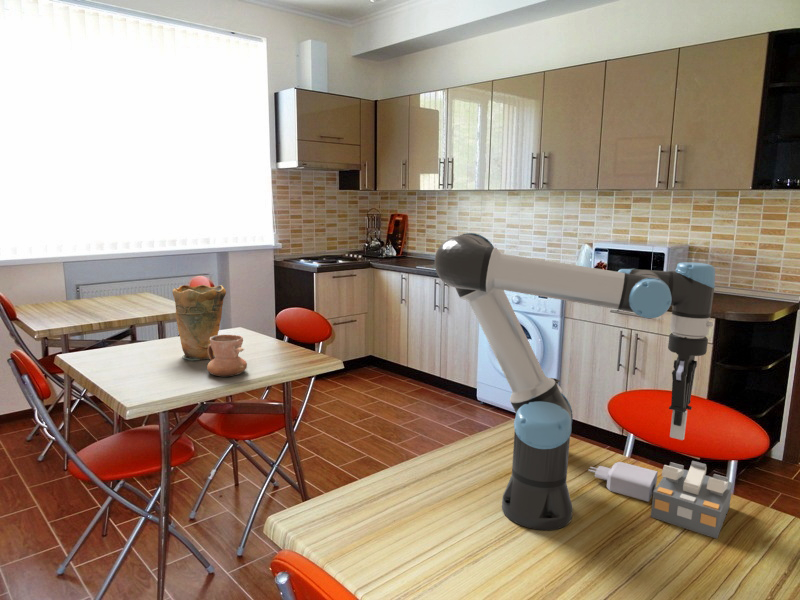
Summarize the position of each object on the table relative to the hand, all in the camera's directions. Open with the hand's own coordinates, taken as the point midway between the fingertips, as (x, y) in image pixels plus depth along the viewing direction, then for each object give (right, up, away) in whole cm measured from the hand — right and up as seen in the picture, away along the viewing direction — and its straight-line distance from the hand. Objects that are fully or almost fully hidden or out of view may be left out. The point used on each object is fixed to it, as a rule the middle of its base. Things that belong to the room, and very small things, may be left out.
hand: (676, 437), depth 129 cm
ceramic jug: (-128, +3, +92) cm, 157 cm away
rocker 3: (+7, -9, -4) cm, 12 cm away
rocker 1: (0, -8, +2) cm, 8 cm away
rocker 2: (+3, -9, -1) cm, 10 cm away
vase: (-145, +7, +114) cm, 184 cm away
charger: (-8, -15, +12) cm, 21 cm away
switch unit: (+3, -17, 0) cm, 17 cm away
